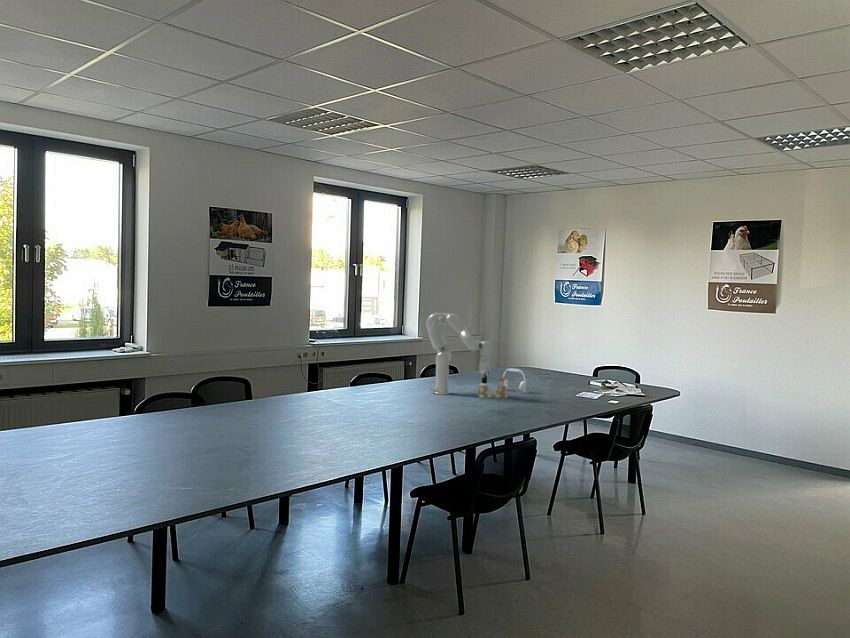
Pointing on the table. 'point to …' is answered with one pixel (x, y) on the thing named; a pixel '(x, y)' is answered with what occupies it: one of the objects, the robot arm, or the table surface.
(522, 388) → the headset
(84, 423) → the table surface
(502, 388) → the block
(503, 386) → the terracotta plug
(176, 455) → the table surface
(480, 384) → the plug
